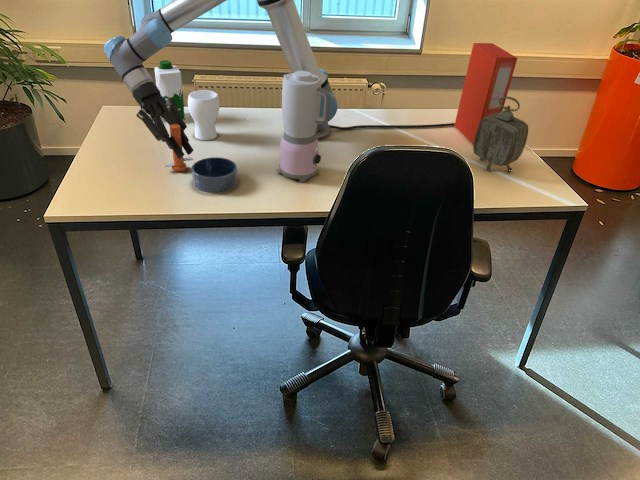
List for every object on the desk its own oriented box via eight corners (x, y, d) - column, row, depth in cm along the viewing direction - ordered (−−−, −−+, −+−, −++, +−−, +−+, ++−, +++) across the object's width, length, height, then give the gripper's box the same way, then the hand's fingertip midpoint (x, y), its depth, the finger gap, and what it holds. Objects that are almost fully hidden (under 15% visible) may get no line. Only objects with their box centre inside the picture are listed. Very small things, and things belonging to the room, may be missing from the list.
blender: (271, 174, 166) (271, 74, 147) (291, 160, 174) (294, 63, 156) (314, 189, 160) (320, 86, 141) (333, 173, 169) (341, 75, 150)
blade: (192, 162, 167) (188, 121, 158) (194, 169, 163) (191, 127, 155) (163, 166, 164) (158, 124, 155) (166, 172, 160) (160, 130, 152)
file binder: (472, 125, 208) (493, 43, 189) (493, 144, 194) (517, 57, 176) (454, 126, 206) (472, 43, 188) (473, 145, 193) (495, 57, 174)
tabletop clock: (516, 172, 177) (538, 101, 162) (503, 181, 171) (524, 108, 157) (479, 157, 185) (497, 88, 170) (465, 164, 180) (482, 93, 165)
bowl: (242, 175, 164) (241, 159, 161) (230, 196, 153) (230, 180, 150) (201, 171, 165) (199, 155, 162) (187, 191, 154) (185, 175, 151)
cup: (224, 131, 190) (222, 90, 181) (216, 143, 181) (214, 101, 173) (195, 128, 191) (192, 88, 182) (186, 140, 182) (182, 98, 173)
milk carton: (181, 111, 203) (175, 59, 191) (187, 120, 196) (182, 66, 185) (158, 114, 199) (151, 61, 188) (164, 123, 193) (157, 68, 181)
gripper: (158, 87, 164) (200, 151, 167) (115, 100, 153) (160, 169, 156) (168, 74, 159) (211, 140, 161) (124, 87, 148) (170, 158, 150)
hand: (186, 154), depth 158 cm, fingers closed on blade, 3 cm apart
